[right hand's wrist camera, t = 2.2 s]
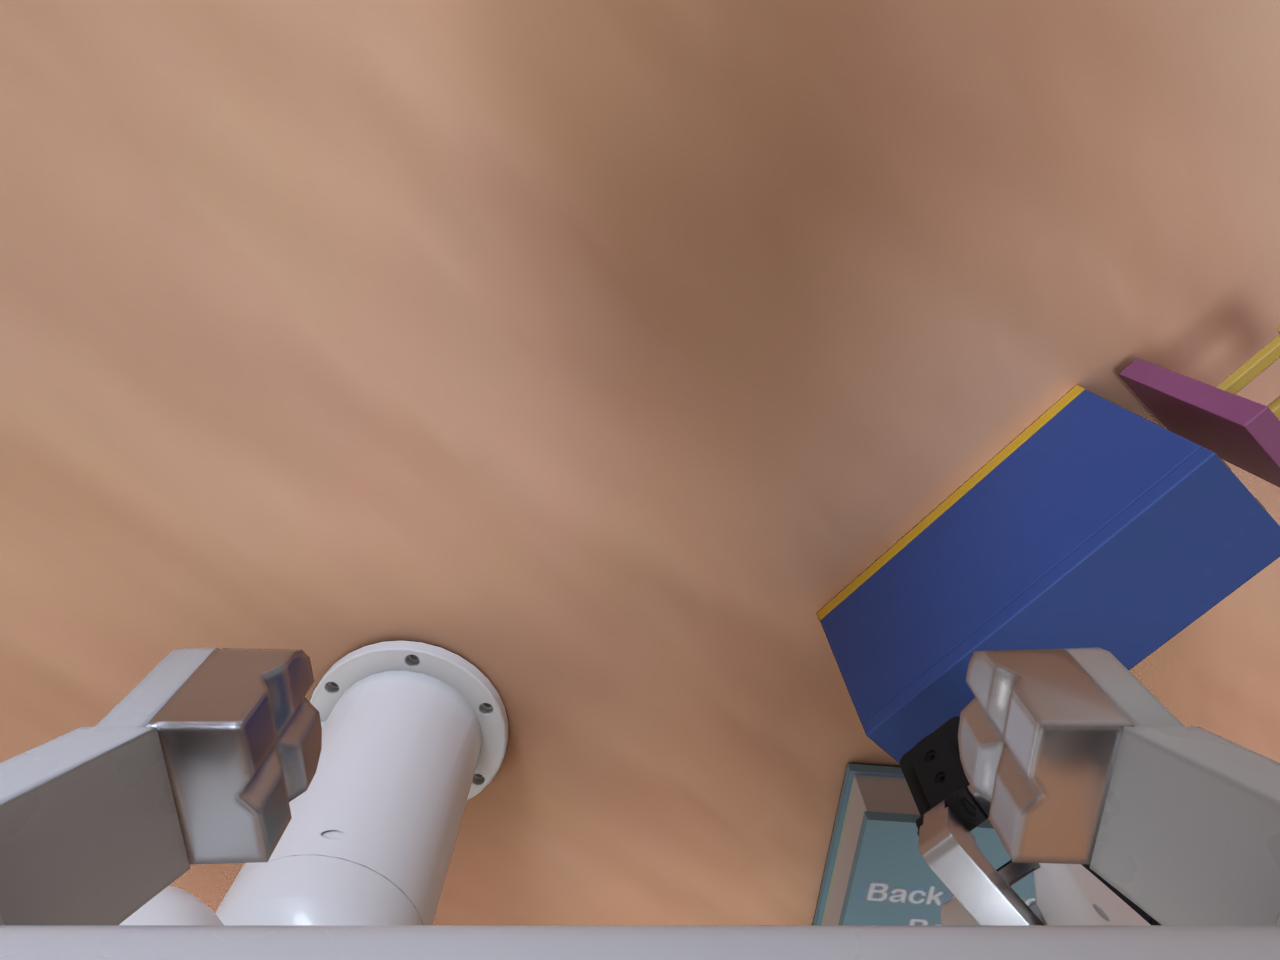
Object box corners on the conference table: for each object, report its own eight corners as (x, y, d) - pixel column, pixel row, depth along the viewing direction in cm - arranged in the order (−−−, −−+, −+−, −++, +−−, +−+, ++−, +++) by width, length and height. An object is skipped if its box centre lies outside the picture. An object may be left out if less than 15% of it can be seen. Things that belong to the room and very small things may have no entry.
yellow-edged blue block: (1076, 384, 45) (1215, 451, 34) (1143, 458, 47) (1297, 544, 36) (816, 613, 50) (865, 735, 39) (884, 673, 52) (949, 806, 41)
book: (847, 763, 54) (867, 819, 49) (1088, 780, 54) (1130, 838, 50) (794, 1008, 62) (807, 1077, 57) (1005, 1022, 62) (1035, 1091, 58)
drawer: (1217, 287, 42) (1376, 318, 33) (1271, 353, 44) (1439, 401, 34) (877, 582, 48) (932, 678, 39) (933, 633, 50) (999, 737, 40)
